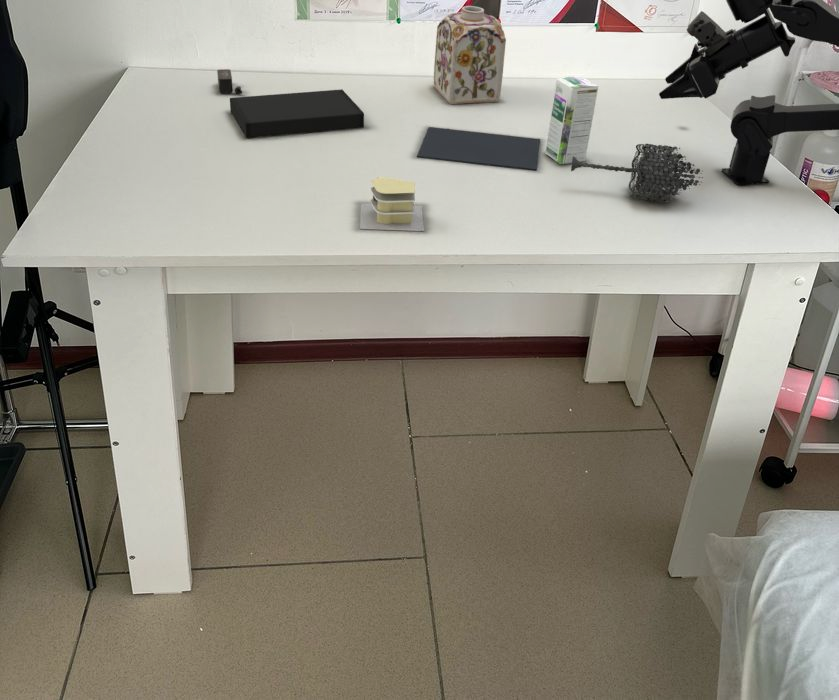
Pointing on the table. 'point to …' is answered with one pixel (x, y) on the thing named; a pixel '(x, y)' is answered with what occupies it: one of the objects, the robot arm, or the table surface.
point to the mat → (480, 148)
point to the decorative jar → (469, 57)
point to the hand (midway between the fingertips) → (663, 88)
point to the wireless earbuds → (226, 82)
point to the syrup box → (571, 119)
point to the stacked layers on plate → (392, 207)
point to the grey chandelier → (654, 172)
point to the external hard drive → (295, 113)
